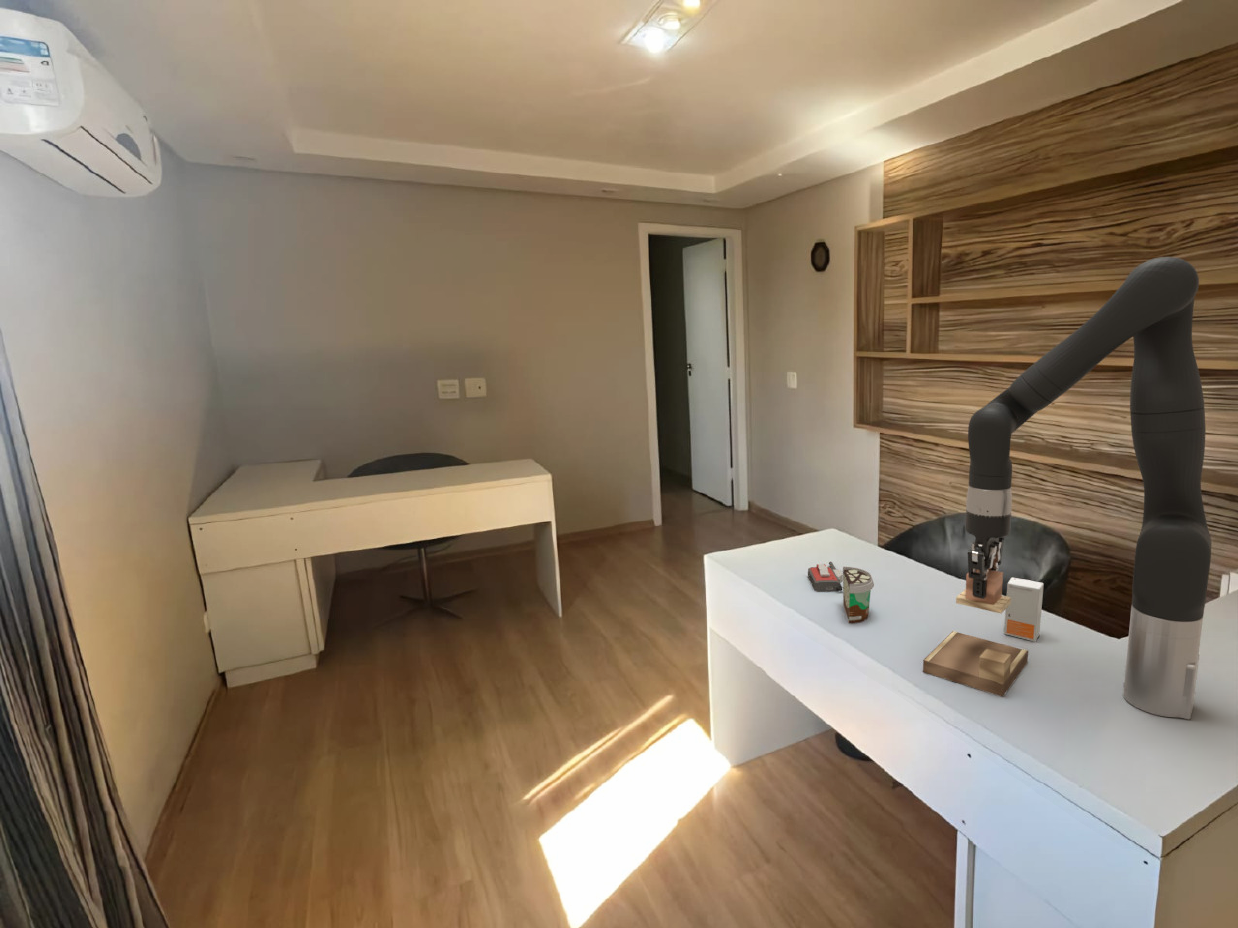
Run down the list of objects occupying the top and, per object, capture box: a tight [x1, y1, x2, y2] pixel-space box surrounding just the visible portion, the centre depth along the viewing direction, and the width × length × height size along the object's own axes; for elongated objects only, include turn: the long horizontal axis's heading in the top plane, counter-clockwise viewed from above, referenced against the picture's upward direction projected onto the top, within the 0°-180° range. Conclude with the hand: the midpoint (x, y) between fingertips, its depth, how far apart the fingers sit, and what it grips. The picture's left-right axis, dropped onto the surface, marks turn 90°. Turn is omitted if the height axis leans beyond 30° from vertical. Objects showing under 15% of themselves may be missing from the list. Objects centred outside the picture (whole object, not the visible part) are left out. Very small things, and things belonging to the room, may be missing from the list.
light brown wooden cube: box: [979, 649, 1011, 684], centre depth 118 cm, size 4×4×4 cm
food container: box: [842, 566, 875, 624], centre depth 152 cm, size 12×6×10 cm, turn 168°
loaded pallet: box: [955, 570, 1011, 614], centre depth 126 cm, size 8×6×6 cm
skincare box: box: [1003, 577, 1045, 643], centre depth 137 cm, size 6×4×12 cm
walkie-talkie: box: [807, 561, 843, 593], centre depth 175 cm, size 9×4×20 cm
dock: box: [922, 630, 1029, 698], centre depth 127 cm, size 14×16×3 cm
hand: (984, 592), depth 126 cm, fingers closed on loaded pallet, 5 cm apart
